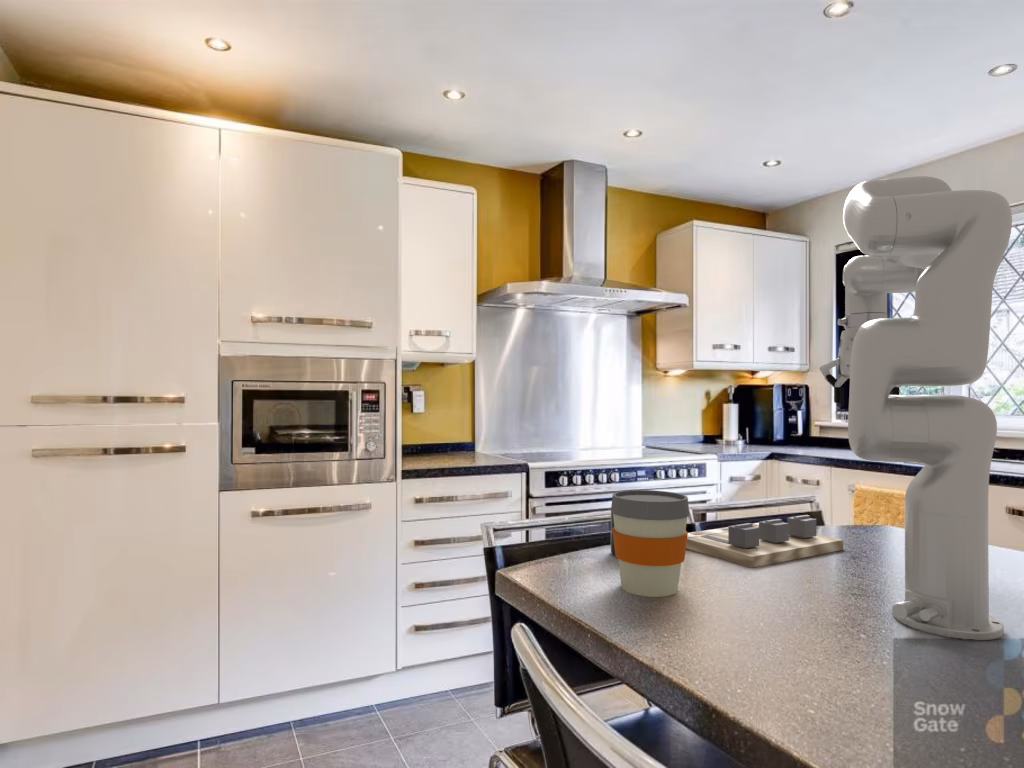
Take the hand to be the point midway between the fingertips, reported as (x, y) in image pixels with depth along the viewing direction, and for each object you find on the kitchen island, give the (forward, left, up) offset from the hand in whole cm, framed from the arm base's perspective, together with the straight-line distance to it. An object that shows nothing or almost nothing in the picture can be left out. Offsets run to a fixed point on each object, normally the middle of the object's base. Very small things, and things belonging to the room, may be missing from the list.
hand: (866, 406), depth 127 cm
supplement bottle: (-46, +21, -30) cm, 58 cm away
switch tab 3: (-9, +9, -27) cm, 30 cm away
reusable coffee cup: (-57, +3, -30) cm, 64 cm away
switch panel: (-18, +13, -29) cm, 37 cm away
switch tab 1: (-27, +9, -27) cm, 39 cm away
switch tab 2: (-18, +9, -27) cm, 33 cm away
